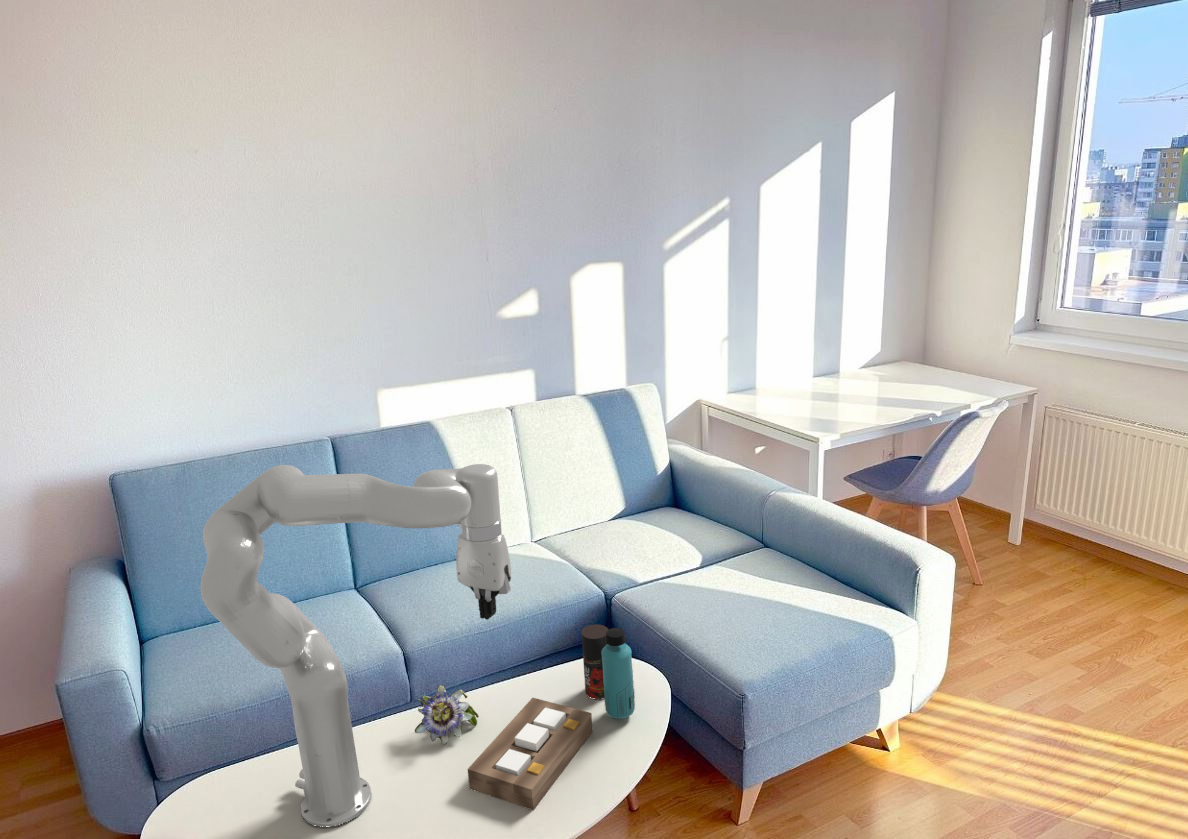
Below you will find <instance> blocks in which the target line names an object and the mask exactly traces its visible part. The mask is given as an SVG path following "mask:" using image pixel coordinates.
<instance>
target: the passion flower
mask: <svg viewBox="0 0 1188 839" xmlns="http://www.w3.org/2000/svg"><path fill="white" fill-rule="evenodd" d="M462 695H463V696H464V698H465V699H467V698H468V694H466V693H465V692H464V691H463V690H462V689H459V690H457V691H455V692H453V693H452V694H451V695H450V694H448V695H447V691H446V689H445V687H444V686H443V685H442V684H440V685H439V686H438V687H437V689H436V693H434V694H433V695H431V696H427V695H422V700H421V699H420V698H418V699H417V701H418V702H419V703H420V705H421V706H420V707H418V708H417V711H418V713H420V714H421V715H423V718H421V722H420V723H419V724H418V725H416V727H415V728H414V733H416V734H421V733H423V732H425V731H426V732H428V733H429V736H430V739H431V741H432V742H434V741H436V740H438V739H439V740H440V742H441V744H442V746H445V745H446V744H447V743H448V742H449V736H450V735H451V734H453V735H454V736H455V737H457V738H461V736H462V732H463V730H462V723H463V722H469V723H470V725H471V726H472V727H474V728H475V727H477V725H478V720H477V718H479V714H478V713H477V712H476V711H475V709H474V708H473V706H471V705H470V703H469V702H467V701H460V699H461V698H462Z"/></svg>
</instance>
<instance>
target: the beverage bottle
mask: <svg viewBox="0 0 1188 839" xmlns="http://www.w3.org/2000/svg"><path fill="white" fill-rule="evenodd" d="M606 643H607V645H606V646H605V647H604V648H603V649H602V652H601V653H602V664H603V683H604V684H603V685H604V691H603V693H604V699H603V702H604V708H605V709H604V710H605V712H606V713H607V715H608V716H609V717H611V718H614V719H625V718H628V717H630V716H632V715H633V714H634V711H635V709H636V700H635V683H634V669H633V661H632V660H633V659H632V658H633V657H632V649H631V647H630V646H629V645H628V644H627V643H626V633H625V631H624V630H623V629H622V628H619V627H613V628H608V631H607V632H606Z"/></svg>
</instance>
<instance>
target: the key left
mask: <svg viewBox="0 0 1188 839" xmlns="http://www.w3.org/2000/svg"><path fill="white" fill-rule="evenodd" d="M530 762H531V755H528V754H524V753H521V752H518V751H514V750H511V749H509V750H508V751H507V752H506V753H505V754H504V755H503V757H502V758H501V759H500V760H499V761H498V762H497V763H496V770H499V771H503V772H506V773H509V774H512V775H515V776H518V777H519V775H520V774H521V773H522V772H523V771H524V769H525V768H526V767H527V766H528V764H529V763H530Z"/></svg>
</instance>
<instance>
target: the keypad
mask: <svg viewBox="0 0 1188 839" xmlns="http://www.w3.org/2000/svg"><path fill="white" fill-rule="evenodd" d="M544 708H549V709H553V710H557V711H560V712H564V713H566V719H565V720H564V722H563V723H562V724H561V725H560V726H559V728H558V729H557V730H556V731H552V730H549V729H548V731H549V737H548V739H547V740H546V741H545V742H544V743H543V745H542V746H541V747H540V748H539V750H538V751H537V752H536V751H533V750H529V749H526V748H522V747H519V746H516V745H515V737H516V736H517V734H518V733H519V732H520V731H521V730H522V729H523V728H524V726H525V725H526V724H527V723H529V724H532V725H534V722H533V721H534V720H535V719H536V717H537V716H538V715H539V714H540V713H541V712H542V710H543V709H544ZM593 732H594V730H593V717H592V712H589V711H586V710H581V709H578V708H575V707H570V706H566V705H563V704H559V703H556V702H550V701H547V700H543V699H540V698H536V697H532V698H530V700H529V701H528V702H526V704H525V705H524V706H523V708H521V710H519V711H518V712H517V714H516V715H515V716H514V717H513V718H512V720H511V721H509V722H508V723H507V725H506V726H505V727H504V728H503V729H502V731H501V732H500V733H499V734H498V735H497V736H496V737H495V738H494V739H493V740H492V741H491V743H490V744H489V745H488V746H487V747H486V748H485V749H484V750H483V751H482V753H481V754H479V756H478V757H477V758H476V759H475V760H474V762H472V764H471V765H470V766H469V767H468V768H467V776H468V784H469V790H471V789H472V791H474V790H475V792H478V793H481V794H483V795H487V796H489V795H490V797H493V798H495V799H499V800H502V801H504V802H508V803H510V804H514V805H516V806H519V807H523V808H524V809H525V808H526V809H528V810H532V811H535V809H536V808H537V806H538V805H539V804H540V802H541V801H542V800H543V799H544V798H545V796H546V795H547V793H548V792H549V790H550V789H552V786H553V785H555V783H556V781H557V780H558V779H559V777H560V776H561V775H562V773H563V772H564V771H565V769H566V768H567V766H568V765H569V764H570V763H571V761H572V760H573V758H574V757H575V756H576V755H577V754H578V752H579V751H580V749H581V748H582V747H583V745H584V744H585V742H587V740H588V739H589V738H590V736H591V735H592V733H593ZM587 738H588V739H587ZM509 749H511V750H514V751H518V752H521V753H524V754H528V755H531V762H530V763H529V764H528V766H527V767H526V768H525V769H524V771H523V772H522V773H521V774H520V775H519V777H518V776H515V775H512V774H509V773H506V772H503V771H499V770H496V763H497V762H498V761H499V760H500V759H501V758H502V757H503V755H504V754H505V753H506V752H507V751H508V750H509Z"/></svg>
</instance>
